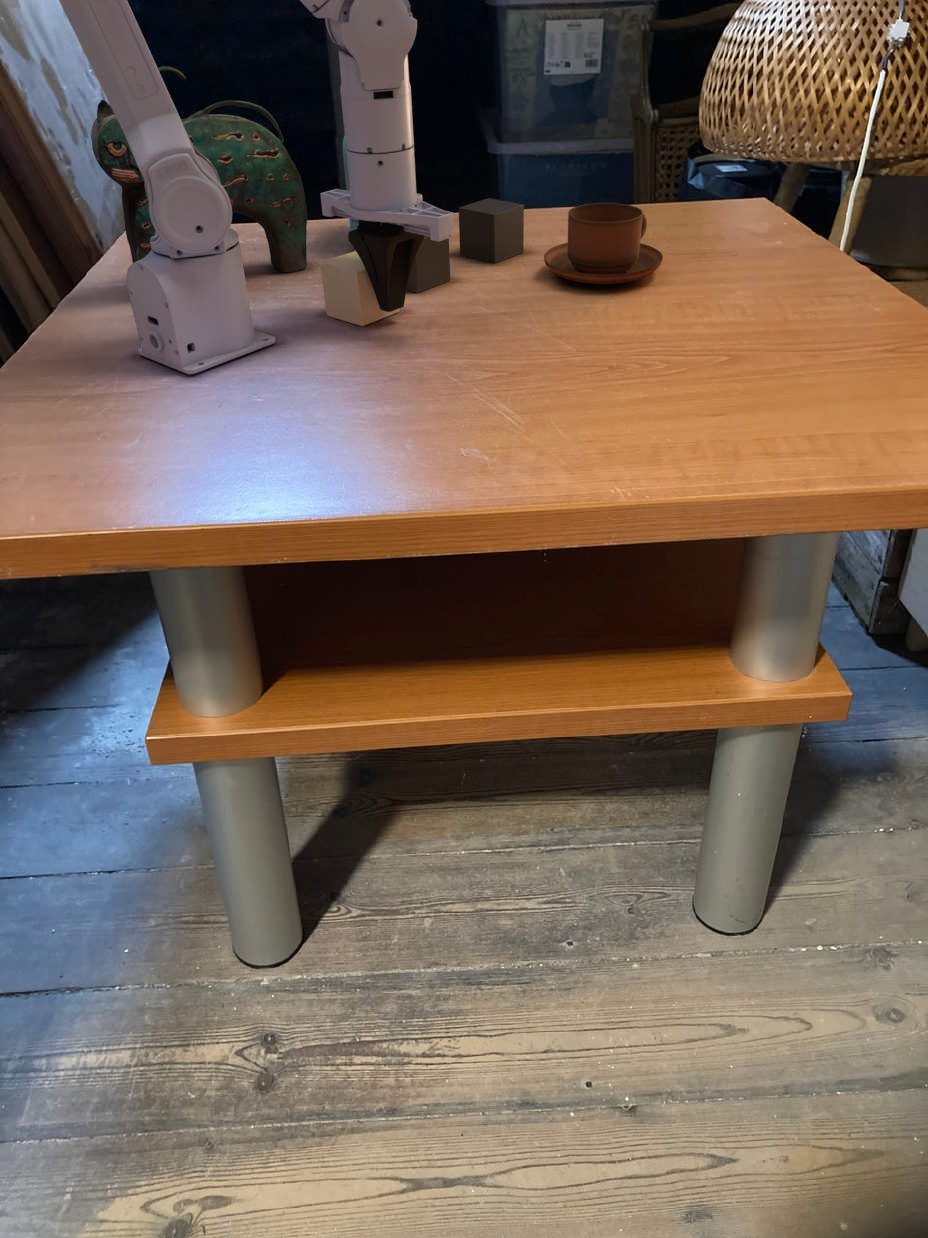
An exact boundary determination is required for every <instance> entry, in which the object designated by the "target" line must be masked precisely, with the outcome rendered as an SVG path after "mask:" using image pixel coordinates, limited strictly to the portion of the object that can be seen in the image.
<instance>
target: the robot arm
mask: <svg viewBox="0 0 928 1238" xmlns="http://www.w3.org/2000/svg"><path fill="white" fill-rule="evenodd" d="M58 1H59V4H60V6H61V8H62V10H63V12H64V14H65V15H66V18H67V20H68V22H69V24H70V26H71V28H72V30H73V32H74V34H75V36H76V38H77V40H78V42H79V44H80V47H81V49H82V50H83V52H84V55H85V57H86V59H87V61H88V63H89V65H90V67H91V70H92V71H93V73H94V75H95V77H96V79H97V81H98V83H99V85H100V87H101V90H102V91H103V93H104V95H105V97H106V99H107V103H108V104H109V105H110V106H111V108H112V110H113V112H114V114H115V116H116V118H117V120H118V122H119V124H120V126H121V128H122V130H123V132H124V134H125V137H126V139H127V141H128V144H129V146H130V148H131V151H132V153H133V156H134V158H135V161H136V163H137V165H138V168H139V170H140V172H141V174H142V176H143V178H144V180H145V191H146V195H147V198H148V201H149V213H150V218H151V221H152V224H153V226H154V228H155V230H156V232H155V236H152V237H151V239H150V241H151V242H150V244H151V249H152V250H151V251H150V252H149V254H148V255H147V256H146V257H144V258H143V259H141V260H139V261H136V262H134V263H133V262H132V263H131V264H130V265H129V267H128V268H127V272H126V287H127V293H128V296H129V301H130V305H131V310H132V314H133V317H134V321H135V326H136V330H137V335H138V338H139V343H140V347H139V348H138V349H137V353H138V355H139V356H142V357H145V358H147V359H150V360H152V361H155V362H157V363H159V364H162V365H164V366H166V367H169V368H171V369H174V370H177V371H179V372H181V373H184V374H186V375H195V374H198V373H201V372H202V371H205V370H208V369H211V368H213V367H217V366H219V365H222V364H224V363H226V362H229V361H232V360H235V359H237V358H240V357H242V356H245V355H248V354H250V353H253V352H256V351H259V350H260V349H263V348H266V347H268V346H271V345H274V344H275V343H276V342H277V340H276V337H275V336H273V335H271V334H268V333H265V332H261V331H259V330H256V329H254V324H253V318H252V312H251V305H250V299H249V292H248V287H247V281H246V275H245V270H244V268H245V267H244V264H243V257H242V256H243V255H242V250H241V245H240V239H239V233H238V232H237V231H236V230H234V229H232V228H231V226H232V222H233V212H232V206H231V203H230V199H229V197H228V195H227V192H226V191H225V189H224V187H223V186H222V185H221V182H220V178H219V176H218V173H217V171H216V169H215V168H214V166H213V165H212V163H211V162H210V161H209V160H208V159H207V158H206V157H205V156H204V155H202V154H201V153H200V152H199V151H198V150H197V149H196V148H195V147H194V145H193V144H192V142H191V140H190V138H189V136H188V134H187V132H186V130H185V127H184V125H183V123H182V121H181V119H182V118H181V116H180V114H179V112H178V110H177V108H176V105H175V104H174V101H173V99H172V97H171V94H170V92H169V90H168V87H167V86H166V83H165V81H164V79H163V77H162V74H161V73H160V72H161V71H159V70H158V66H157V63H156V61H155V60H154V59H155V58H154V57H153V54H152V53H151V50H150V48H149V46H148V43H147V42H146V38H145V37H144V35H143V32H142V30H141V27H140V26H139V23H138V21H137V19H136V17H135V14H134V12H133V11H132V8H131V6H130V3H129V1H128V0H58ZM299 2H301V3H302V4H303V6H304V7H305V8H306V9H307V10H308V11H309V12H310V13H311V14H312V15H313V16H314V17H315V18H317V19H324V20H325V26H326V29H327V33H328V35H329V37H330V39H331V41H332V42H333V44H335V45H338V46H340V47H341V49H343V50H344V51H345V52H344V51H343V50H338V58H339V59H338V61H339V71H340V80H341V84H340V89H339V91H340V99H341V110H342V120H343V129H344V130H343V131H344V135H345V143H346V155H347V164H348V175H349V186H350V191H347V189H346V190H345V189H339V188H335V189H330V190H328V191H324V192H320V202H321V203H320V204H321V213H322V216H324V217H329V218H332V217H335V216H337V217H341V218H345V219H348V220H349V219H354V220H358V221H359V225H358V226H357V229H356V230H352V231H351V230H350V231H348V233H347V239H348V242H349V244H350V245H351V246H352V247H354V248H353V249H354V251H356V252H357V254H358V255H359V257H360V259H361V261H362V262H363V264H364V267H365V269H366V271H367V273H368V276H369V278H370V281H371V284H372V286H373V289H374V292H375V295H376V298H377V301H378V304H379V307H380V310H383V311H386V312H391V311H394V310H397V309H399V308H400V309H402V308H404V307H405V301H406V296H407V291H408V290H407V285H408V280H409V276H410V272H411V268H412V265H413V262H414V259H415V256H416V254H417V251H418V249H419V247H420V245H421V243H422V241H423V239H424V237H425V236H429V237H431V240H433V241H438V242H439V241H442V240H445V239H448V238H449V239H450V238H453V237H455V218H454V217H455V215H454V214H455V213H454V212H451V211H447V210H444V209H441V208H439V207H437V206H435V205H433V204H430V203H428V202H426V201H423V195H422V194H421V193H417V179H416V178H417V177H416V159H415V137H414V121H413V103H412V101H413V100H412V86H411V83H410V71H409V52H410V50H411V49H412V47H413V45H414V42H415V40H416V35H417V29H418V19H416V18H415V17H414V15H413V12H412V11H411V4H410V1H409V0H299Z"/></svg>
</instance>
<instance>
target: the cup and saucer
mask: <svg viewBox="0 0 928 1238" xmlns="http://www.w3.org/2000/svg"><path fill="white" fill-rule="evenodd" d="M567 219H568V220H567V242H564V243H561V244H558V245H555V246H552V247H551V248H549V249H548V250H546V251H545V253H544V254H543V261H544V264H545V266H546V267H547V268H548V269H549V270H550V272H552V273H553V274H554V275H557V277H558V276H559V277H560V278H563V279H566V280H569V281H572V282H576V283H582V284H590V285H616V284H625V283H630V282H634V281H638V280H641V279H643V278H646V277H648V276H650V275H651V274H653V273H655V271H657V269H659V268H660V267H661V265H662V262H663V259H664V255H663V254H662V252H661V251H660V250H659V249H657V248H655V247H653V246H651V245H648V244H645V243H641V240H642V238H643V237H644V236H645V234H646V230H647V226H648V220H647V217H646V215H645V214H644V212H643V210H642V209H641V208H639V207H637V206H634V205H630V204H625V203H618V202H593V203H586V204H580V205H576V206H574V207H572V208H570V209H569V210H568V213H567Z"/></svg>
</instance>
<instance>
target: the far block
mask: <svg viewBox="0 0 928 1238" xmlns="http://www.w3.org/2000/svg"><path fill="white" fill-rule="evenodd" d="M524 214H525V205H524V204H522V203H516V202H513V201H507V200H501V199H495V198H490V197H488V198H485V199H482V200H479V201H476V202H472V203H469V204H466V205H463V206H459V207H458V229H459V230H458V231H459V232H458V234H459V235H458V236H459V256H461V257H465V258H469V259H474V260H478V261H483V262H486V263H491V264H497V263H499V262H502V261H505V260H507V259H510V258H513V257H515V256H517V255H520V254H523V253H524V246H525V245H524V239H525V238H524V237H525V235H524V233H525V231H524V230H525V227H524V225H525V215H524Z"/></svg>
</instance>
